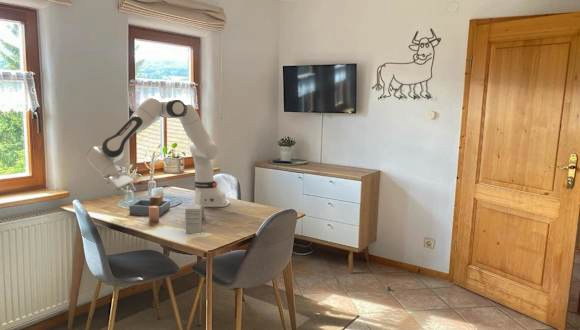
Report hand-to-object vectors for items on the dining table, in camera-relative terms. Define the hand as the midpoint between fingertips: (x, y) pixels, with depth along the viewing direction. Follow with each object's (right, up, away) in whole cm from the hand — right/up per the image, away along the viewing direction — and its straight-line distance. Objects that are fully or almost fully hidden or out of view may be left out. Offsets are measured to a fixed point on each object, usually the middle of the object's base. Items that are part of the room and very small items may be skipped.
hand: (130, 192), depth 231 cm
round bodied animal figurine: (+32, -15, +6) cm, 36 cm away
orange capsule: (+12, -15, +2) cm, 19 cm away
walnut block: (+7, -11, +20) cm, 24 cm away
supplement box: (+36, -19, -13) cm, 42 cm away
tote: (+4, -12, +20) cm, 24 cm away
